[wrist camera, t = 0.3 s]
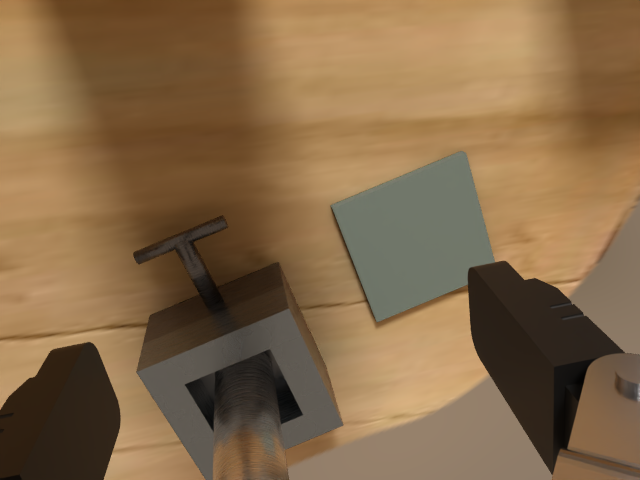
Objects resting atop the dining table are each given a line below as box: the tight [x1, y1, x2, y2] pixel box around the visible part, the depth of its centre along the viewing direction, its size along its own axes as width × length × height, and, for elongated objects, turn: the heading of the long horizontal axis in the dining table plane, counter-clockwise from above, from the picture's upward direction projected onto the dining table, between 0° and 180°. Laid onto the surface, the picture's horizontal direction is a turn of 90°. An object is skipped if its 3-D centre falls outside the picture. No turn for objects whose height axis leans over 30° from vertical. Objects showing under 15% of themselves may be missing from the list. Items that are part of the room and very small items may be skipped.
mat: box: [331, 151, 495, 322], centre depth 32 cm, size 8×8×1 cm
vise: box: [133, 215, 343, 480], centre depth 30 cm, size 12×8×6 cm, turn 21°
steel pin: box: [213, 352, 289, 480], centre depth 24 cm, size 3×3×14 cm
